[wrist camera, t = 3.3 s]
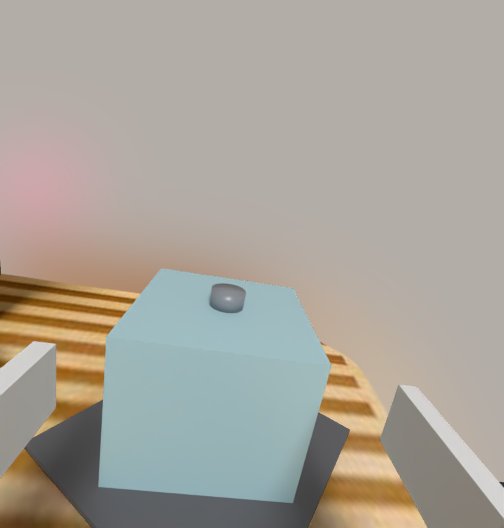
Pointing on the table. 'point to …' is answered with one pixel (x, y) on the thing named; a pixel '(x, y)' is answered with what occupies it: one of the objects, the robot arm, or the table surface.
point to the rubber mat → (172, 504)
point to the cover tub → (211, 390)
